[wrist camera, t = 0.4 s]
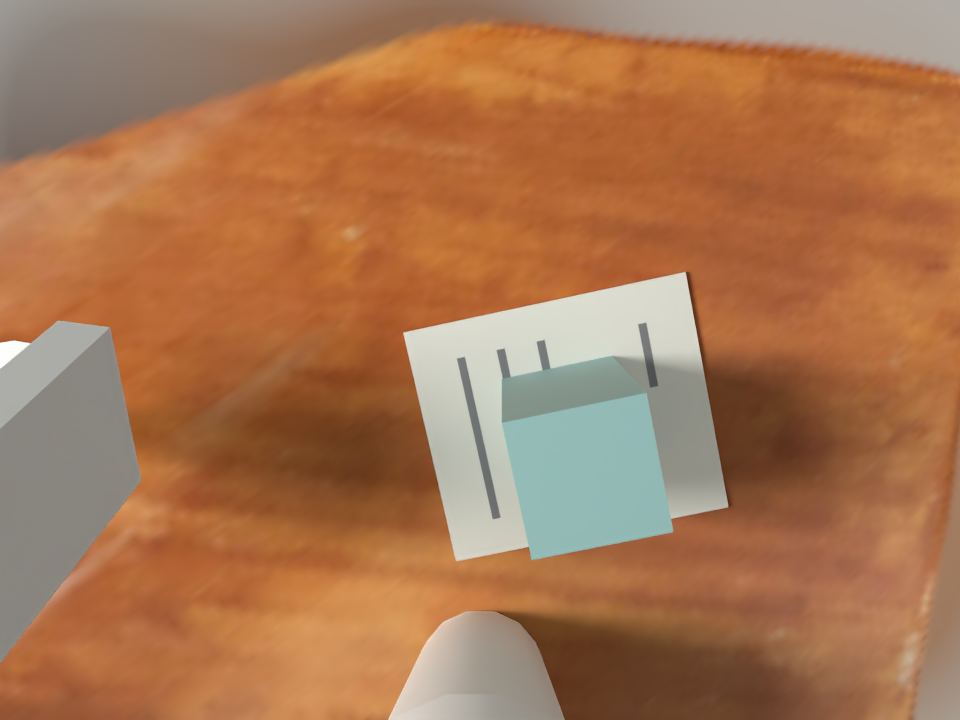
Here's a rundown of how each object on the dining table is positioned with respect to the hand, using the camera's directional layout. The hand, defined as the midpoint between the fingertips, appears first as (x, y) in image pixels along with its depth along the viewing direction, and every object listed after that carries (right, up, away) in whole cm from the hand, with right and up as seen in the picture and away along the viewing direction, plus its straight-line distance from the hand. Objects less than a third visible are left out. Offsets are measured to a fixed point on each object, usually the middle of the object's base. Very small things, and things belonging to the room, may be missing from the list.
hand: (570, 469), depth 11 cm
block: (+3, -2, +30) cm, 30 cm away
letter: (+3, -2, +30) cm, 31 cm away
